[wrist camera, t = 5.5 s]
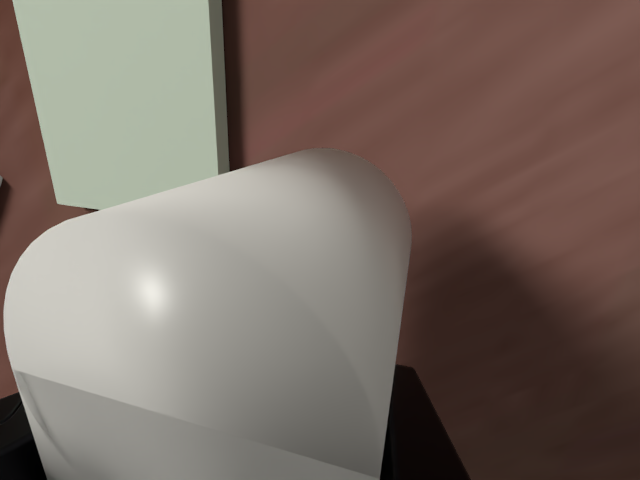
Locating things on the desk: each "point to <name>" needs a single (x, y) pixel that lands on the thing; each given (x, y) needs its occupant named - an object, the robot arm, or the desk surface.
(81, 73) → the sage mat
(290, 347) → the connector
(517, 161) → the desk surface
